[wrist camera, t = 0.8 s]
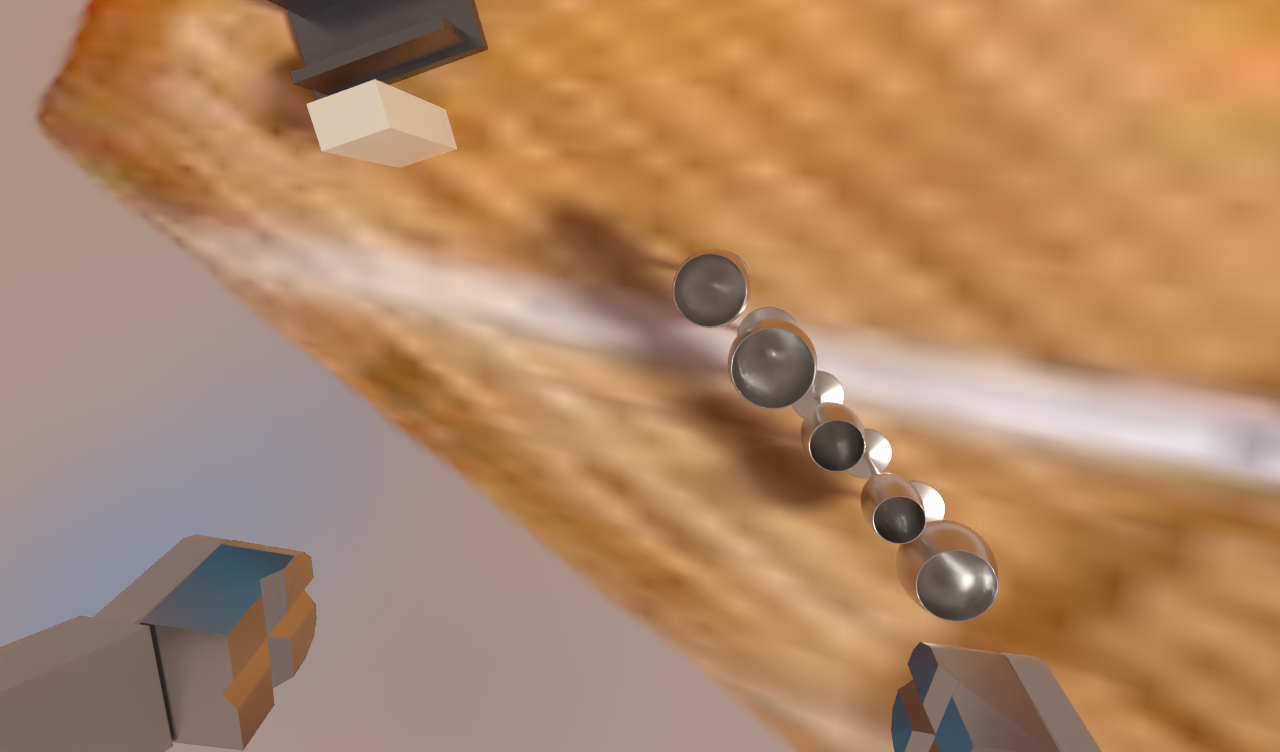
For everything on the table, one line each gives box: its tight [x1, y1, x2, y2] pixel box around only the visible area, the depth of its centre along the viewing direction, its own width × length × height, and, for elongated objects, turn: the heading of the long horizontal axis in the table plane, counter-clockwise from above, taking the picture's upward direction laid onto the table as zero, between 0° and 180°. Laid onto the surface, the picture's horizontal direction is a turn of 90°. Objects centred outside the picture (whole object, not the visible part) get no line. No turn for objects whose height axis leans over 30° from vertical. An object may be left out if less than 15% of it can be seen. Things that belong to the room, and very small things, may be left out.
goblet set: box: [672, 249, 998, 622], centre depth 45 cm, size 28×6×13 cm, turn 41°
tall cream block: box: [307, 79, 457, 168], centre depth 48 cm, size 3×5×10 cm, turn 105°
